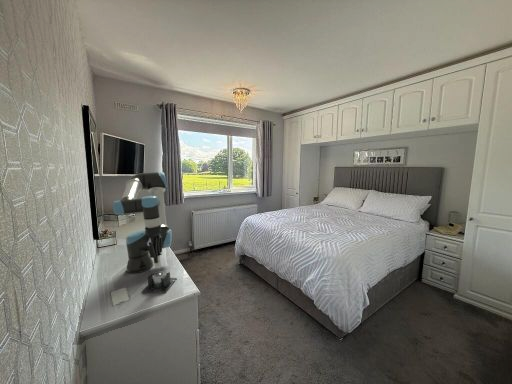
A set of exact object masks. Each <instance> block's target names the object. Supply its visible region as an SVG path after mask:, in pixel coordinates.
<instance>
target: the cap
mask: <svg viewBox="0 0 512 384" xmlns="http://www.w3.org/2000/svg"><path fill="white" fill-rule="evenodd" d="M153 273H154V274H153ZM153 273H152V274H153V283H154V287H155V288H159V287H162V280H161V278H163V277H165V276H166V272H165V271H161V270H160V271H156V272H153Z"/></svg>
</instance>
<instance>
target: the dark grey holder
mask: <svg viewBox="0 0 512 384" xmlns="http://www.w3.org/2000/svg"><path fill="white" fill-rule="evenodd" d="M154 273H155V272H153V273H151V274H150V275H148V277H147V285H146V286H145V287H144V288H143V289H142V290H141V294H165V293H167V292H168V291H169V289H171V287H172V286H173V284H174V283H176V281H177V279H178V278H177V277H171V273H170V272H165V277H163V278H161V280H162V287H159V288H155V287H154V283H153V274H154Z"/></svg>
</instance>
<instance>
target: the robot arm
mask: <svg viewBox="0 0 512 384" xmlns="http://www.w3.org/2000/svg"><path fill="white" fill-rule="evenodd" d="M168 187H169V186H168V183H167V178H166V175H165V172H163V171H155V172H141V173H137V174H135V175H132V176H131V177H129V178H128V179H127V181H126V182H125V190H124V191H123V194H122V197H121V199H119V200H114V201H113V203H112V209H113V213H114V214H115V215H117V216H118V215H126V214H127V215H130V214H136V213H142V214H143V222H144V230H139V231H136V232H135V231H134V232H133V233H130V234H129V235H127V236H126V238H125V242H126V243H125V245H126V250H127V256H128V260H127V264H126V272H127V273H129V274H138V273H143V272H145V271H148V270H149V269H151V268H153V266H154V268H155V269H160V268H162V262H161V256H162V253H163V249H166V248H170V247H171V246H172V238H173V237H172V236H173V235H172V233H173V232H172V231H173V230H172V229H170V226H168V224H167V217H166V215H167V214H166V206H165V192H166V191H167V190H166V189H167V188H168ZM141 190H147V192H148V193H149V195H146V196H143V197H142V198H138V196H139V193H140V191H141ZM152 258H153V259H152Z"/></svg>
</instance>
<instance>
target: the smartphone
mask: <svg viewBox="0 0 512 384" xmlns="http://www.w3.org/2000/svg"><path fill="white" fill-rule="evenodd" d="M130 297H131V296H130V294H129V291H128V289H127V287H122V288H118V289H116V290H113V291H111V292H110V300H111V305H112V307H116V306H119V305H121V304H124V303H126V302H129V301H130V300H131V298H130Z"/></svg>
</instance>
